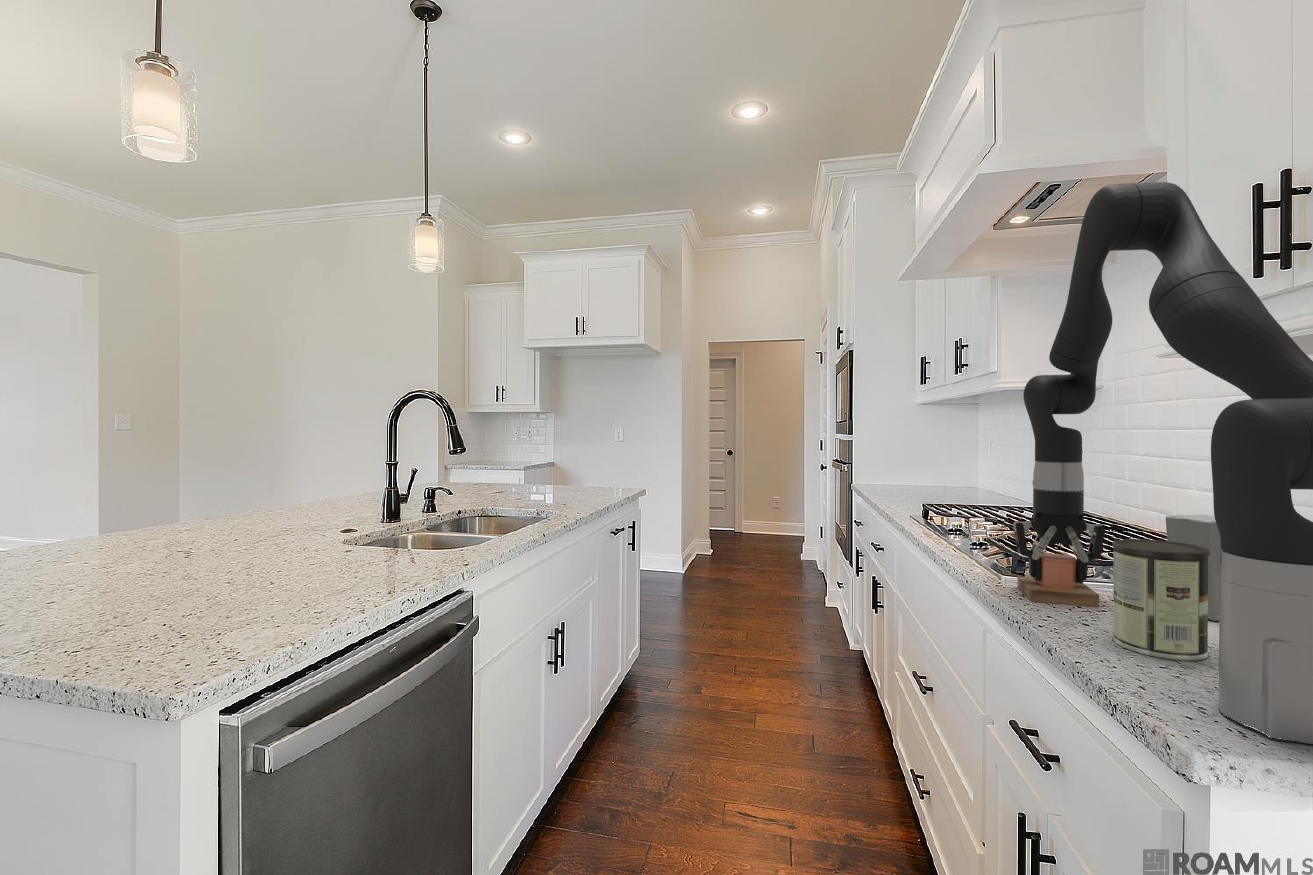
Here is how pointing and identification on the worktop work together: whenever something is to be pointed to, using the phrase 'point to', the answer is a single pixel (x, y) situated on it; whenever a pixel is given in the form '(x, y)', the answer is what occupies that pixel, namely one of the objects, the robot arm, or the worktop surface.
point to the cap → (1058, 571)
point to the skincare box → (1204, 535)
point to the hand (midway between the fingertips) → (1057, 580)
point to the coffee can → (1161, 598)
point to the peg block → (1057, 593)
